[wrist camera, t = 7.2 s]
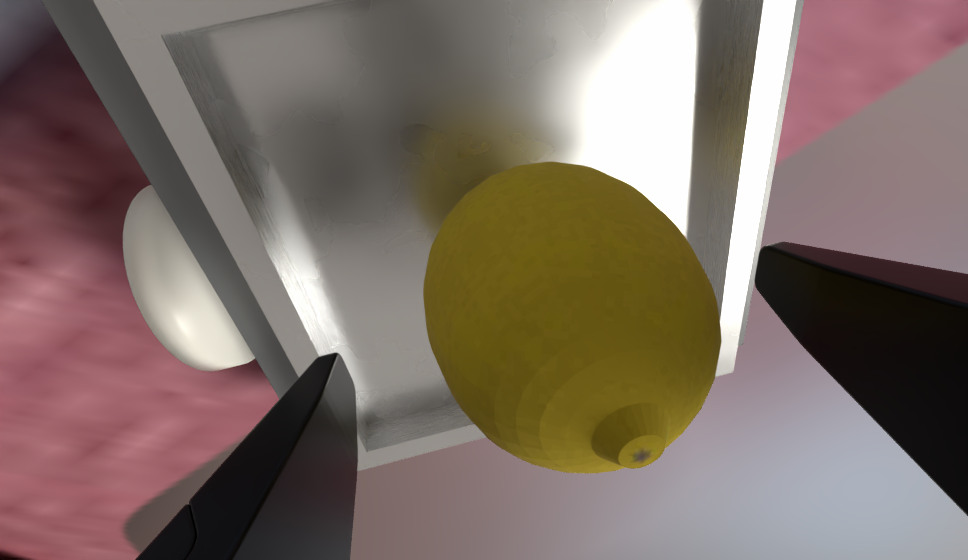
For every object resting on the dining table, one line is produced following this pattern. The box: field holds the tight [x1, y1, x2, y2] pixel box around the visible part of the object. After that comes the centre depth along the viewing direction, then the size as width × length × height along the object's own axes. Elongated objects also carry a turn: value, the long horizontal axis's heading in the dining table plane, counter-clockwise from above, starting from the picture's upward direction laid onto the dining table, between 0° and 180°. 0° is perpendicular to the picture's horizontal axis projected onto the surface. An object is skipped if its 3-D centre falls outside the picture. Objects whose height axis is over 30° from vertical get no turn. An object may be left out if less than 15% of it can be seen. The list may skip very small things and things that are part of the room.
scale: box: [41, 0, 804, 399], centre depth 14 cm, size 19×16×6 cm
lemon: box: [423, 162, 722, 473], centre depth 9 cm, size 6×6×8 cm
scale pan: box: [93, 0, 796, 471], centre depth 13 cm, size 14×14×2 cm
